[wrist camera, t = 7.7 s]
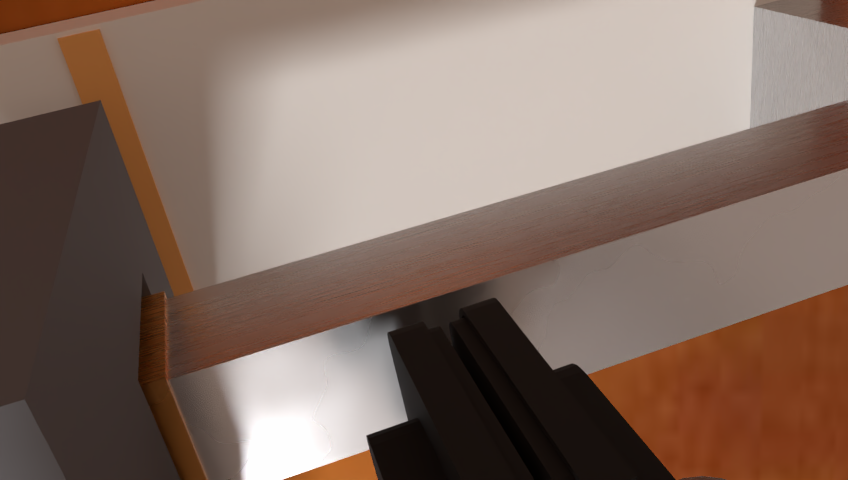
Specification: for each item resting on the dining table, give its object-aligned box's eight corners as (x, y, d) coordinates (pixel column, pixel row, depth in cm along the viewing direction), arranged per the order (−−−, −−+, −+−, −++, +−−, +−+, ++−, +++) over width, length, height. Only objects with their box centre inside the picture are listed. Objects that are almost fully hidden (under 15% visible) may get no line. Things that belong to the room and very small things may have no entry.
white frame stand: (821, -11, 20) (1126, 44, 14) (810, 134, 22) (1074, 242, 16) (-259, 268, 15) (-553, 547, 9) (-155, 422, 17) (-337, 744, 11)
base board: (786, -139, 20) (833, -139, 18) (769, 209, 25) (806, 229, 23) (-312, 102, 15) (-359, 126, 14) (-74, 476, 20) (-92, 521, 18)
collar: (100, 99, 14) (24, 399, 6) (226, 433, 18) (280, 887, 10) (-77, 142, 13) (-415, 532, 6) (92, 477, 17) (33, 998, 9)
